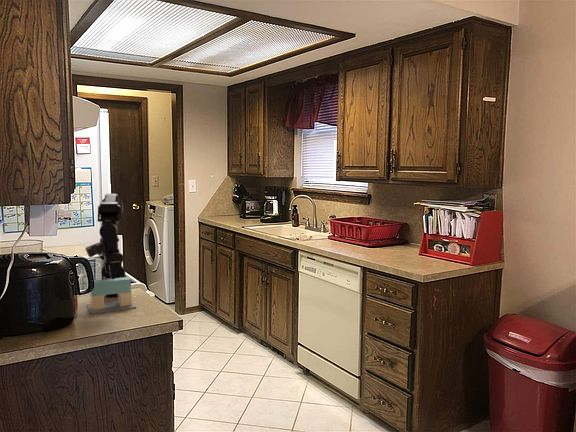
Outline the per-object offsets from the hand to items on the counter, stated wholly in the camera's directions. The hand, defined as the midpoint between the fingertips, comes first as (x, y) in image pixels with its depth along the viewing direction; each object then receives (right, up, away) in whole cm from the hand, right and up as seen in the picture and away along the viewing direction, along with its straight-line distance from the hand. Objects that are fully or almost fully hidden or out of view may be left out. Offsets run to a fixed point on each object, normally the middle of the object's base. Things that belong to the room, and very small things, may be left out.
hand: (110, 276), depth 184 cm
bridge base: (0, -12, +1) cm, 12 cm away
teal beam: (0, -6, +1) cm, 6 cm away
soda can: (-12, -13, -11) cm, 21 cm away
